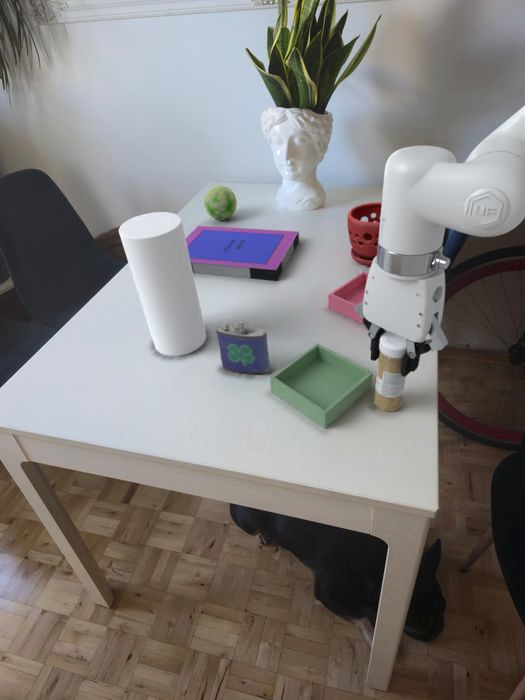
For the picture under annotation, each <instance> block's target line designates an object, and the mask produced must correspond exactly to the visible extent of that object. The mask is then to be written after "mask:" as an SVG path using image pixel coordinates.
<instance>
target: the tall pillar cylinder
mask: <svg viewBox="0 0 525 700" xmlns="http://www.w3.org/2000/svg"><path fill="white" fill-rule="evenodd" d="M118 234H119V237H120V241H121V243H122V247H123V250H124V253H125V255H126V256H125V257H126V259H127V263H128V266H129V269H130V272H131V275H132V279H133V282H134V285H135V288H136V291H137V295H138V297H139V301H140V304H141V308H142V310H143V313H144V316H145V320H146V323H147V326H148V328H149V333H150V335H151V339H152V342H153V346H154V348H155V350H156V351H157V352H158V353H160V354H161V355H164V356H168V357H179V356H185V355H189V354H191V353H193V352H196V351H197V350H198V349H200V348H201V347H202V346H203V345H204V344H205V341H206V340H207V333H206V332H207V331H206V327H205V323H204V318H203V317H204V316H203V313H202V308H201V303H200V298H199V295H198V290H197V285H196V281H195V275H194V273H193V271H192V266H191V261H190V257H189V252H188V247H187V242H186V238H187V237H186V234H185V229H184V224H183V220H182V218H181V216H180V215H178V214H176V213H173V212H167V211H155V212H149V213H144V214H140V215H136V216H134V217H131V218H129V219H128V220H126V221H125V222H123V223H122V224H121V225H120V226H119V228H118Z"/></svg>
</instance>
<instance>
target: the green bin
mask: <svg viewBox="0 0 525 700" xmlns="http://www.w3.org/2000/svg"><path fill="white" fill-rule="evenodd" d="M373 376H374V373H373V372H372V371H370V370H368V369H367V368H365V367H362V366H361V365H359V364H357V363H355V362H353V361H351V360H350V359H348V358H346V357H344V356H343V355H341V354H338V353H337V352H335V351H333V350H331V349H329V348H328V347H326V346H323V345H321V344H320V343H318V342H317V343H315V344H314V345H312V346H311V347H310V348H309V349H307V350H306V351H304V352H303V353H302V354H300V355H299V356H297V357H296V358H295V359H293V360H292V361H291V362H289V363H287V364H286V365H285V366H284V367H282V368H281V369H279V370H278V371H277V372H275V373H274V374H272V375H271V376H270V377H269V384H270V392H271V394H274V395H275V396H276V397H278V398H279V399H281V400H282V401H284V402H285V403H287V404H288V405H290V406H291V407H293V409H295V410H296V411H298V412H299V413H301V414H302V415H304V416H306V417H307V418H309V419H310V420H312V421H313V422H315V423H316V424H317V425H319V426H321V427H322V428H323V429H327V428H328V427H329V426H330V425H331V424H332V423H333V422H335V421H336V420H337V419H338V418H339V417H340V416H341V415H342V414H344V413H345V412H346V411H347V410H348V409H350V407H351V406H353V405H354V404H355V403H356V402H357V401H358V400H359V399H361V398H362V397H363V396H364V395H365V394H367V393H368V391H370V390H371V389H372V387H373Z"/></svg>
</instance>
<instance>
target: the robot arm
mask: <svg viewBox="0 0 525 700" xmlns="http://www.w3.org/2000/svg"><path fill="white" fill-rule="evenodd" d="M383 174H384V176H383V183H382V184H383V185H382V196H381V202H382V206H381V216H380V229H379V240H378V250H377V256H376V257H375V258H374V259H373V262H372V265H371V266H370V268H369V271H368V273H369V274H368V278H367V282H366V287H365V293H364V300H363V301H362V302H360V303H359V304H358V305H357V306H356V307H355V308H354V309H355V311H356V313H357V314H358V315H359V316H360V318H361V319H363V323H364V324H363V325H364V327H365V328H366V329H367V331H368V332H367V336H368V338H369V339H370V348H369V350H370V360H371V361H373V362H374V361H375V362H376V361H377V360H379V355H380V349H379V343H380V337H381V336H382V334H384V333H385V332H387V331H390V332H392V333H395V334H397V335H399V336H401V337H404V338H406V344H407V353H406V354H404V356H403V361H402V367H401V376H403V377H407V376H408V375H409V374H410V373H411V372H412V373H414V372H415V371H416V370H417V369H418V368H419V364H420V358H421V355H423V354H427V353H428V352H437V351H442V350H444V349H445V348H446V346H448V344H449V341H448V339H447V337H446V335H445V333H444V331H443V329H442V327H441V325H442V321H443V315H444V307H445V299H446V297H445V296H446V273H445V270H447V269H448V267H450V263H451V258H449V257H447V256H445V255H443V251H444V246H443V243H444V237H445V232H446V229H449V230H453V231H455V232H459V233H462V234H465V235H470V236H474V237H480V238H493V237H498V236H502V235H504V234H507V233H509V232H511V231H513V230H514V229H516V228H517V227H518V226H519V225H520V224H521V223H522V222H523V220H524V219H525V105H523V106H522V107H521V108H520V109H519V110H517V111H516V112H515V113H514V114H513V115H511V116H510V117H509V118H508V119H506V120H505V121H504V122H503V123H502V124H501V125H499V126H498V127H497V128H496V129H494V131H492V132H491V133H490V134H489V135H487V136H486V137H485V138H484V139H483V140H482V141H480V143H478V144H477V146H475V147H474V148H473V150H472V151H471V152H470V153H469V154H468V156H467V158H466V159H465V161H464V162H457V158H456V156H455V154H454V153H453V152H452V151H450V150H448V149H446V148H443V147H440V146H436V145H412V146H406V147H403V148H399V149H397V150H396V151H394V152H393V153H391V154H390V156H389V157H388V158H387V160H386V163H385V167H384V173H383ZM428 335H429V337H430V338H428V339H426V338H427V336H428Z"/></svg>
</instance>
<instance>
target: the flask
mask: <svg viewBox="0 0 525 700" xmlns="http://www.w3.org/2000/svg"><path fill="white" fill-rule="evenodd" d="M244 324H245V321H244V320H242V319H241V320H240V321H237V322H235V324H234V326H233V325H231V324H229V323H225V324H220V325H218V326H217V327H216V335H217V341H218V346H219V353H220V359H221V360H220V361H221V364H222V369H224V370H225V371H227V372H230V373H231V372H232V373H235V374H246V375H257V376H260V375H267V374H268V373H269V372H270V370H271V363H270V358H269V357H270V355H269V345H268V333H267V331H266V330H265V329H264V328H260V327H259V328H257V327H256V328H251V327H244Z"/></svg>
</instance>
